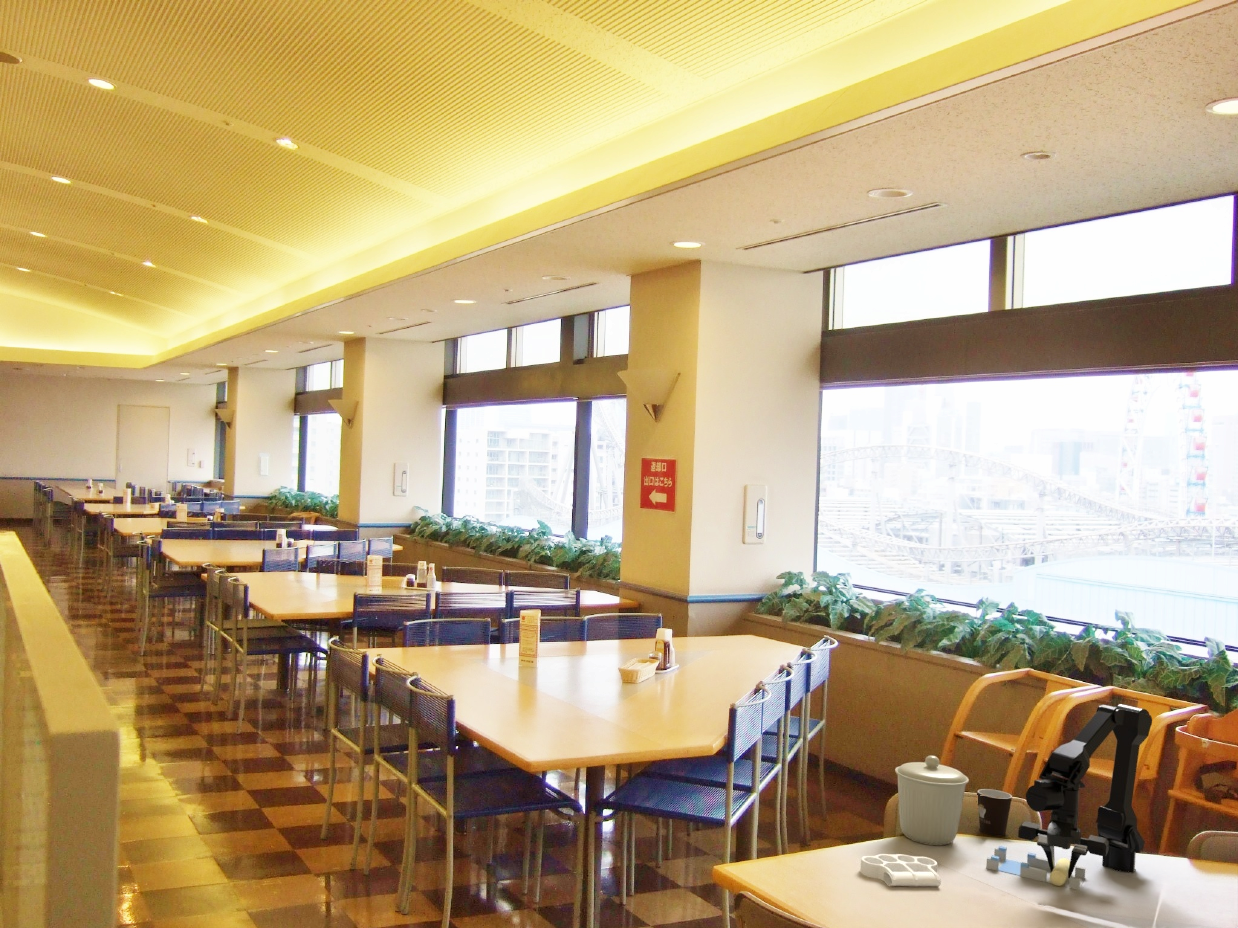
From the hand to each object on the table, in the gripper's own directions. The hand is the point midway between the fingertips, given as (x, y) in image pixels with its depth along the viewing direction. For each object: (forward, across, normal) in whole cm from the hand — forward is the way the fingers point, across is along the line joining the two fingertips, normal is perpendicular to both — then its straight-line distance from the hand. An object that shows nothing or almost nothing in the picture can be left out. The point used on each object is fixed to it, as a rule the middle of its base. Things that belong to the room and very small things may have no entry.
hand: (1060, 875), depth 238 cm
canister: (+2, -33, +10) cm, 35 cm away
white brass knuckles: (+2, -30, -22) cm, 38 cm away
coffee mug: (+2, -22, +31) cm, 38 cm away
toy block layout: (+2, -6, 0) cm, 6 cm away
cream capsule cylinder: (+1, 0, 0) cm, 1 cm away
